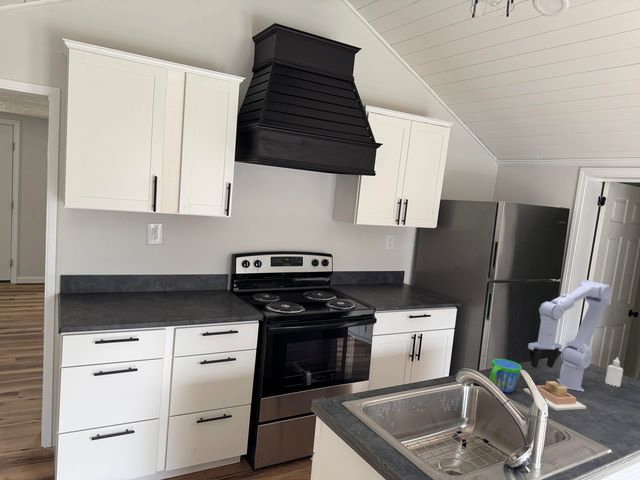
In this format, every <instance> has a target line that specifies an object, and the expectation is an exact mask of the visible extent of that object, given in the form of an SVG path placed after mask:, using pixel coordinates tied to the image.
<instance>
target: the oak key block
mask: <svg viewBox="0 0 640 480" xmlns="http://www.w3.org/2000/svg"><path fill="white" fill-rule="evenodd" d="M545 385H546V386H545V391H547V392H549V393H550V394H552V395H554V396H556V397H566V393H568V389H567V388H566V387H564V386H563V385H561V384H560V383H559V382H558V381H555V380H554V381H551V380H549V381H546V382H545Z"/></svg>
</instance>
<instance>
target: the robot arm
mask: <svg viewBox="0 0 640 480" xmlns="http://www.w3.org/2000/svg"><path fill="white" fill-rule="evenodd" d="M612 295H613V292H612V287H611V285H609V284H605V283H600V282H596V281H591V280H589V279H585V280H583V281H582V282H580V284H579V287H578V288H576V289H575V290H574V291H573V290H572V292H570V293H569V294H567V293H562V294H560V296H558V297H556V298H554V299H552V300H551V301H545V302H543V303H541V304H540V307H539V309H538V311H539V314H540V315H539V316H540V317H539V319H540V324H539V331H538V337H537V341H535V342H530V343H528V346H527V352H528V354H529V358H530V364H531V365H530V366H531V367H533V368H534V369H537V368H538V365H539V360H540V358H541V356H542V354H543V352H542V351H540V350H546V352H547V353H546V354H547V358H546V359H547V360H546V366H547V367H548V368H551V369H552V368H553V367H554V365H555V364H556V361H557V359H558V358H559V357H560V358H561V360H562V364H561V367H560V372H559V378H556V382H557V383H559V384H561V385H563V386H564V387H566V388H567V390H572V391H578V392H585V389H584V388H583V387H582V385H583V384H582V382H583V377H584V371H585V370H586V369H587V368H588V367H590V365H591V363H592V362H591V361H592V356H593V351H592V350H591V348H590V346H589V344H590V343H591V340H592V337H593V335H594V333H595V331H596V328H597V326H598V324H599V322H600V319H601V317H602V316H603V315H602V314H603V312H604V310H605V307H608V305H609V302H610V300H611V297H612ZM580 300H585V301H586V302H587V303H588V307H587V310H586V311H585V314H584V316H583V319H582V322H580V323H581V324H580V326H579V328H578V329H577V333H576V335H575V337H574V339H573V340H571V341H568V342H566V344H565V346H564V347H563V344H560V343H558V342H557V343H555V342H556V341H555V340H556V336H557V335H556V334H557V327H558V323H559V320H561V319H562V317H563V315H564V314H565V313H566V311H569V310H570V309H572V308H573V307H574V306H575V303H576V302H578V301H580Z"/></svg>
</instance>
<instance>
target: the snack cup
mask: <svg viewBox="0 0 640 480" xmlns="http://www.w3.org/2000/svg"><path fill="white" fill-rule="evenodd" d="M491 364H492V365H491V366H492V369H491V372H490V376H489V377H488V378H489V379H490V380H491V381H492V382H494V383H495V384H496V385H497V386H498V387H499V388H500V389H501V390H502V391H501V392H503V393H513V391H514V390H515V388H516V385H517V382H518V380H519V378H520V377H521V372H520V370H523V368H522V365H521V364H519V363H518V362H515V361H513V360H509V359H505V358H504V359H503V358H494V359H492V361H491Z"/></svg>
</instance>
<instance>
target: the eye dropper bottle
mask: <svg viewBox="0 0 640 480" xmlns="http://www.w3.org/2000/svg"><path fill="white" fill-rule="evenodd" d="M620 365H621V361H620V360H619V357H616V358H615V359H613V360H612V364H609V365H607V369H606V376H605V379H604V380H605V381H604V383H605V385H608V384H609V386H611V385H612V387H615V386H616V387H615V388H620V387H621V385H622V381H623V379H622V378H623V374H624V368H622V367H621V366H620Z"/></svg>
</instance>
